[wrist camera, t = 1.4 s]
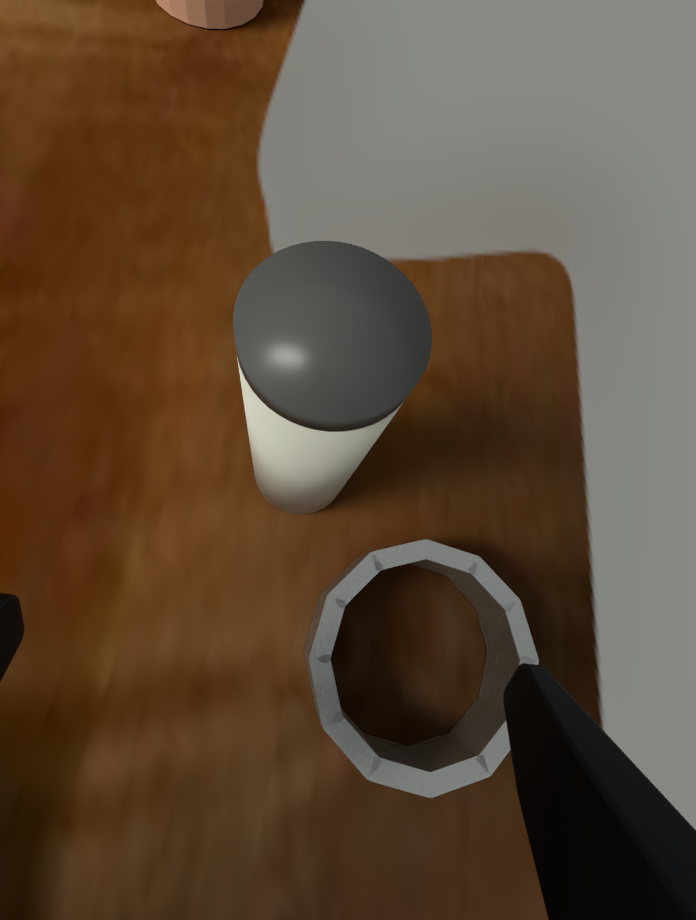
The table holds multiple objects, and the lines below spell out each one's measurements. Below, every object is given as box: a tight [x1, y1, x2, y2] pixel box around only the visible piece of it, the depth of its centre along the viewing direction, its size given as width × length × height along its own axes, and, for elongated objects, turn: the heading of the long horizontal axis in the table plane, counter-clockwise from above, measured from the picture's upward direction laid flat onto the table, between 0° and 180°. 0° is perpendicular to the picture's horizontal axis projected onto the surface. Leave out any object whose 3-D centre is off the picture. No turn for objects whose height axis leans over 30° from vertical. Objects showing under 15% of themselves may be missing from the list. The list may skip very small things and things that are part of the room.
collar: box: [304, 539, 539, 798], centre depth 20 cm, size 9×9×3 cm
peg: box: [233, 241, 432, 515], centre depth 16 cm, size 4×4×13 cm
